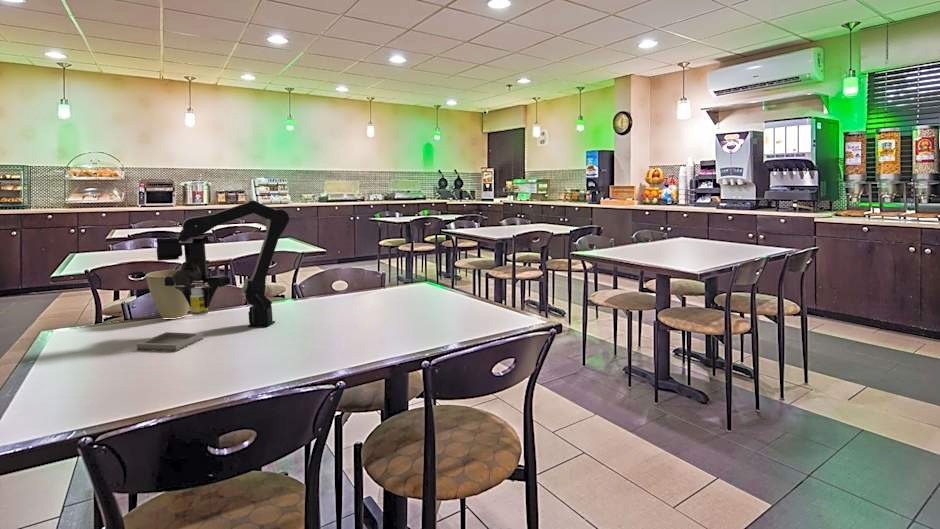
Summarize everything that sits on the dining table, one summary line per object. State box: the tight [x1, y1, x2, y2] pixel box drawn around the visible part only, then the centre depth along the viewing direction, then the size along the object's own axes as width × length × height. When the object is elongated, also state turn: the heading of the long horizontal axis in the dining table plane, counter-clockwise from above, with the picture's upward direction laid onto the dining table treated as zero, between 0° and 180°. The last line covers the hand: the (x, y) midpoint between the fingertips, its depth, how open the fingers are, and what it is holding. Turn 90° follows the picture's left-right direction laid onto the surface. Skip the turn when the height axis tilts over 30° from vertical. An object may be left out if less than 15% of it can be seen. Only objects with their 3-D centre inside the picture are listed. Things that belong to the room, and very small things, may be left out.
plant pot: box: [145, 269, 195, 319], centre depth 187 cm, size 15×15×16 cm
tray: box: [136, 331, 204, 352], centre depth 156 cm, size 12×12×2 cm
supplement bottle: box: [190, 286, 209, 317], centre depth 167 cm, size 5×5×8 cm
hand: (199, 307), depth 167 cm, fingers closed on supplement bottle, 5 cm apart
